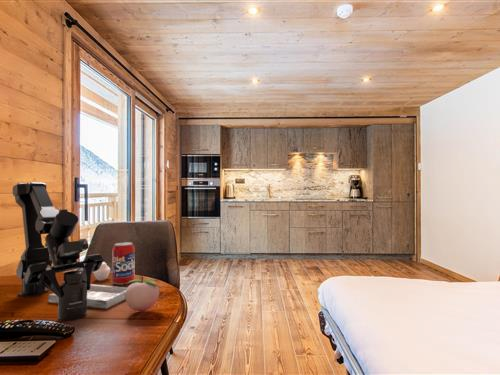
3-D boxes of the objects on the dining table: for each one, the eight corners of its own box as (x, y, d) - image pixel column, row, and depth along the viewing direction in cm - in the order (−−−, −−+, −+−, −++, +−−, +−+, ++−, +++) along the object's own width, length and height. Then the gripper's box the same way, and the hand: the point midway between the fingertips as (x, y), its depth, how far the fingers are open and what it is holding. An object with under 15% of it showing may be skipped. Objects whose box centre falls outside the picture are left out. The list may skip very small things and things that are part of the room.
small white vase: (111, 280, 116) (111, 262, 116) (93, 282, 112) (93, 264, 113) (109, 276, 121) (109, 259, 121) (92, 278, 118) (92, 261, 118)
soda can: (127, 278, 117) (127, 241, 117) (138, 282, 112) (138, 243, 113) (108, 283, 111) (108, 244, 111) (119, 287, 106) (119, 245, 106)
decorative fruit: (118, 318, 78) (118, 281, 79) (131, 307, 87) (131, 273, 87) (153, 318, 78) (153, 281, 79) (162, 306, 87) (162, 273, 87)
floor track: (48, 302, 92) (48, 294, 92) (81, 289, 103) (81, 283, 104) (106, 308, 86) (106, 300, 86) (134, 294, 97) (134, 288, 98)
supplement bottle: (73, 322, 76) (73, 276, 77) (51, 320, 78) (52, 275, 78) (92, 312, 83) (92, 269, 83) (72, 310, 84) (72, 268, 85)
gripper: (28, 234, 76) (43, 284, 69) (101, 227, 91) (119, 268, 84) (19, 260, 81) (31, 310, 74) (89, 250, 96) (105, 290, 88)
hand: (75, 293), depth 80 cm, fingers closed on supplement bottle, 7 cm apart
